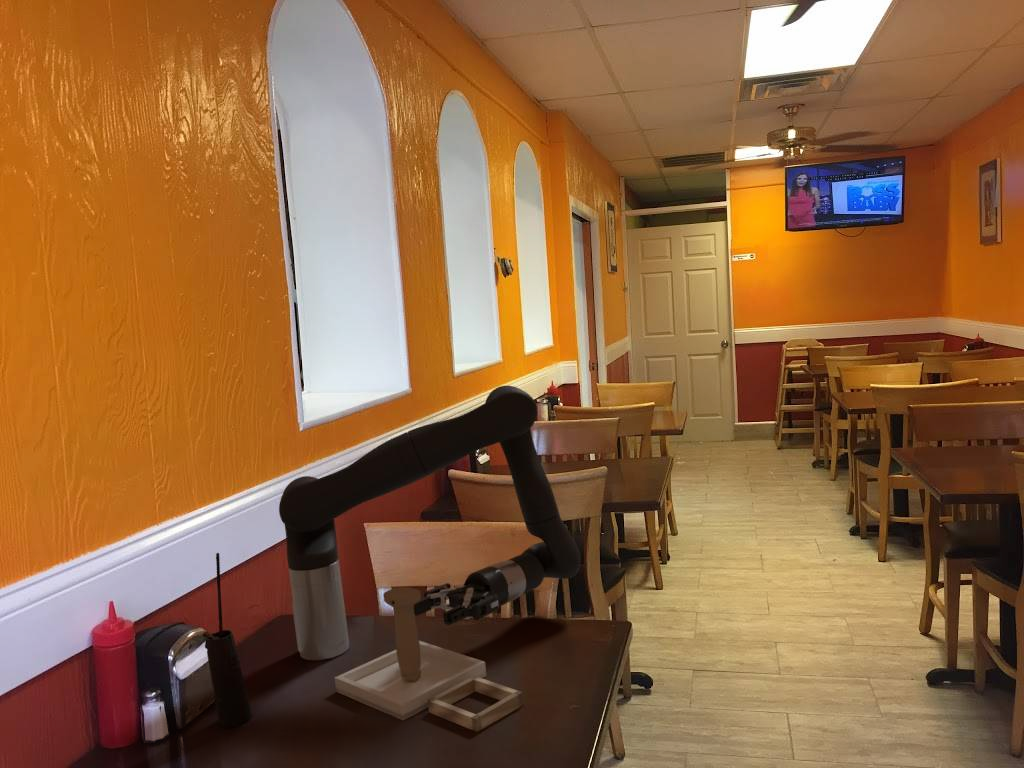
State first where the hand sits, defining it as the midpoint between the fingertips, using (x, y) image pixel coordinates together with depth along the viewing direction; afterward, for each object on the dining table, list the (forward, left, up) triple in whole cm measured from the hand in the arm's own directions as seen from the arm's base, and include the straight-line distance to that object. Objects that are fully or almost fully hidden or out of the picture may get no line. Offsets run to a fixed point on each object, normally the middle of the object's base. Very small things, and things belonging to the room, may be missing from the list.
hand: (429, 614), depth 148 cm
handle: (0, -5, -10) cm, 11 cm away
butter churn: (-16, -30, -10) cm, 36 cm away
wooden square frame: (+16, -5, -10) cm, 20 cm away
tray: (0, -5, -10) cm, 12 cm away
